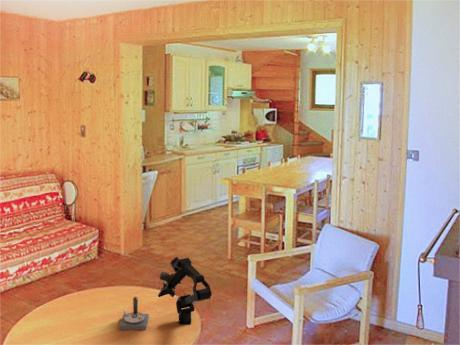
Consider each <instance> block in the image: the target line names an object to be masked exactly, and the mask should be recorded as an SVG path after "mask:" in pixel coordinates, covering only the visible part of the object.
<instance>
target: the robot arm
mask: <svg viewBox="0 0 460 345" xmlns="http://www.w3.org/2000/svg"><path fill="white" fill-rule="evenodd" d="M169 264H170V266H171V268H172V269H173V272H174V273H170V274H169V273H168V272H165V271H161V273H160V274H159V276H158V277H159V280H161V281H163V282H162V288H161V290H160V291H159V293H158V294H157V297H158V298H161V297H164V296H166V295H169V296H170V297H172V298H173V297H174V296H175V295H176V291H175V290H176V287H177V286H178V285H181V283H182V281H183V280H184V279H185V278H187V277H188V278H190V279H192V282H193V287H192V293H193V294H192V295H191V294H190V293H189V294H185V295H181V296H178V297H177V299H176V302H175V306H176V307H175V308H176V312H177V314H178V322H179V323H178V324H179V325H191V324H192V313H193V312H195V306H194V303H197V302H202V301H205V300H210V299H211V297H212V294H213V292H212V289H211V286H210V284H209V283H208V282H207V281H206V280H205V276H204V274H201V273H200V272H199V270H197V269H196V268H195V267H194V266H193V265H192V261H191V259H190V257H184V258H179V257H178V256H176V257H174V258H173V259H172V260H171V261H170V262H169ZM200 283H201V284H202V285H203V286H204V287H205V288H201V289H197V285H198V284H200Z"/></svg>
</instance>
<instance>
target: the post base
mask: <svg viewBox="0 0 460 345" xmlns="http://www.w3.org/2000/svg"><path fill="white" fill-rule="evenodd" d="M126 314H127V309H125V308H124V309H123V314H122V318H121V320H120V322H119V326H118V327H119V331H121V330H122V331H146V329H147V326H148V322H149V318H150V317H149V316H150V315H149V313H143V314H144V316H145V319H144V321H142V322H140V323H137V324H130V323H126V322H125V321H124V316H125V315H126Z"/></svg>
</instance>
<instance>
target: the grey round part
mask: <svg viewBox="0 0 460 345" xmlns="http://www.w3.org/2000/svg"><path fill="white" fill-rule="evenodd" d="M132 299H133V300H132V307H133V308H132V310H133V311H132V312H128V313H126V315H125V316H124V321H125V322H126V323H130V324H137V323H140V322H142V321H144V319H145V316H144V314H145V313H142V312H139V311H138V310H139V309H138V308H139V307H138V297H137V296H134V297H132Z"/></svg>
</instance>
